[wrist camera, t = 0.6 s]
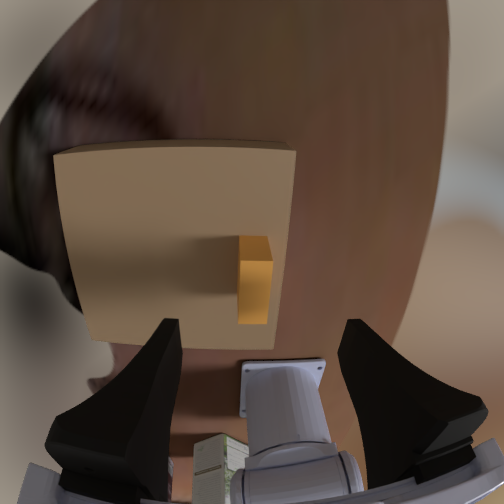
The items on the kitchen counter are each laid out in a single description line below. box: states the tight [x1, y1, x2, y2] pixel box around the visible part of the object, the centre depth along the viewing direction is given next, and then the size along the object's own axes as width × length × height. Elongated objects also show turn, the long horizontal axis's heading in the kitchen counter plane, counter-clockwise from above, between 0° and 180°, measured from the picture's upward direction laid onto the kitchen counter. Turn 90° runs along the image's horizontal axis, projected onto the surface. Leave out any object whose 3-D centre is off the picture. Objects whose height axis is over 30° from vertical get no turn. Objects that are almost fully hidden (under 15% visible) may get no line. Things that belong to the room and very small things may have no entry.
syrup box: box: [192, 434, 249, 504], centre depth 29 cm, size 6×6×14 cm
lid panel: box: [53, 145, 296, 349], centre depth 17 cm, size 14×14×4 cm
